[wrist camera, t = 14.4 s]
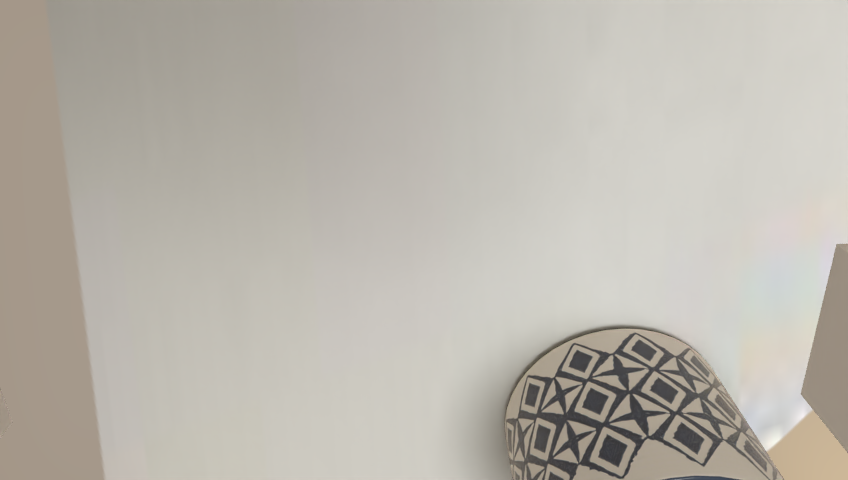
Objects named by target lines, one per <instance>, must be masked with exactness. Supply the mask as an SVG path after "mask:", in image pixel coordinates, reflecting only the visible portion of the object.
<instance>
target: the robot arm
mask: <svg viewBox="0 0 848 480" xmlns="http://www.w3.org/2000/svg"><path fill="white" fill-rule="evenodd" d="M801 395H802V396H803V398H804V399H805V400H806V401H807V403H808V404H809V405H810V406H811V408H812V409H813V410H814V411H815V413H816V414H817V415H818V416H819V417H820V419H821V420H822V421H823V423H824V424H825V425H826V426H827V427H828V429H829V430H830V431H831V433H832V434H833V435H834V436H835V438H836V439H837V440H838V441H839V443H840V444H841V445H842V446H843V448H844V449H845V450H846V451H847V453H848V244H837V245H836V249H835V253H834V258H833V262H832V266H831V270H830V274H829V278H828V283H827V287H826V291H825V295H824V299H823V303H822V308H821V312H820V316H819V320H818V324H817V328H816V333H815V337H814V341H813V345H812V349H811V353H810V358H809V362H808V366H807V370H806V374H805V378H804V383H803V387H802V391H801ZM12 423H13V422H12V419H11V416H10V413H9V411H8V408H7V405H6V402H5V400H4V397H3V394H2V392H1V389H0V438H1V437H2V436H3V434H4V433H5V432H6V430H7V429H8V428H9V427H10V425H11V424H12Z"/></svg>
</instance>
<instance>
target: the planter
mask: <svg viewBox="0 0 848 480" xmlns="http://www.w3.org/2000/svg"><path fill="white" fill-rule="evenodd" d="M505 433H506V442H507V448H508V454H509V460H510V466H511V472H512V478H513V480H784V479H783V477H782V476H781V474H780V473H779V471H778V469H777V468H776V466H775V465H774V463H773V462H772V460H771V459H770V457H769V455H768V454H767V452H766V451H765V449H764V448H763V446H762V445H761V443H760V441H759V440H758V438H757V437H756V435H755V434H754V432H753V431H752V429H751V428H750V426H749V425H748V423H747V421H746V420H745V418H744V417H743V415H742V414H741V412H740V411H739V409H738V408H737V406H736V405H735V403H734V402H733V400H732V398H731V397H730V395H729V394H728V392H727V391H726V389H725V388H724V386H723V385H722V383H721V382H720V380H719V379H718V377H717V376H716V374H715V373H714V371H713V370H712V368H711V367H710V365H709V364H708V363H707V362H706V361H705V360H704V358H703V357H702V356H701V355H700V354H699V353H697V352H696V351H695V350H693V349H692V348H691V347H690V346H688V345H686V344H685V343H683V342H681V341H679V340H677V339H675V338H673V337H670V336H667V335H664V334H661V333H658V332H653V331H648V330H642V329H613V330H604V331H599V332H595V333H591V334H586V335H584V336H581V337H578V338H576V339H573V340H570V341H568V342H566V343H564V344H562V345H560V346H559V347H557V348H555V349H553V350H552V351H550V352H549V353H548V354H546V355H545V356H543V357H542V358H541V359H539V360H538V361H537V362H536V363H535V364H534V365H533V366H532V367H531V368H530V369H529V370H528V371H527V372H526V374H525V375H524V376H523V377H522V379H521V380H520V381H519V383H518V384H517V386H516V388H515V390H514V392H513V394H512V396H511V398H510V401H509V404H508V407H507V411H506V419H505Z"/></svg>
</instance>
